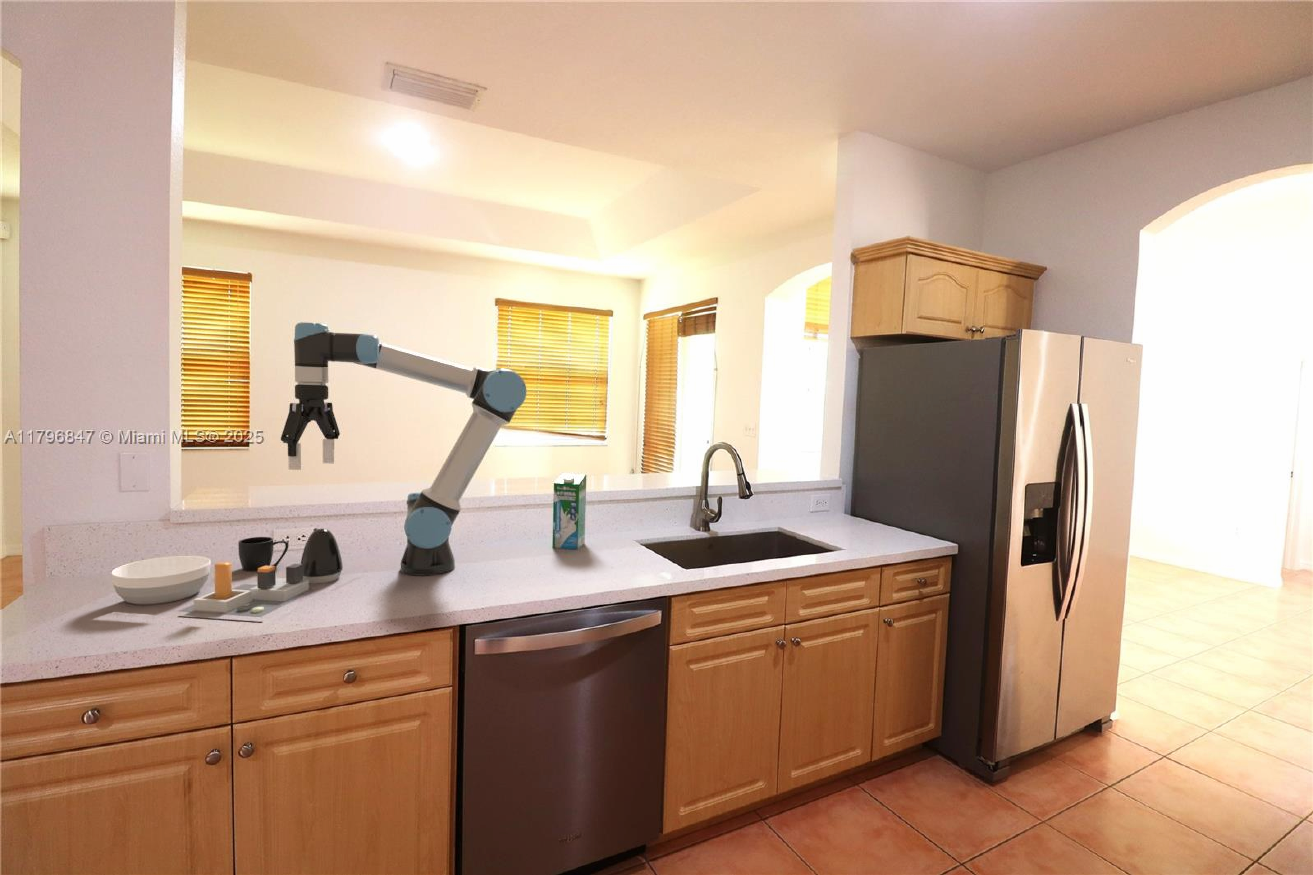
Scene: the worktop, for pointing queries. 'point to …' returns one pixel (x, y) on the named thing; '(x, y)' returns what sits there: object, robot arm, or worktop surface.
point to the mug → (258, 552)
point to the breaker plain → (294, 573)
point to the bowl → (161, 579)
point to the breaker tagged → (266, 577)
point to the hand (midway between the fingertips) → (312, 466)
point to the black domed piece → (321, 557)
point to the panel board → (250, 600)
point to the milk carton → (569, 511)
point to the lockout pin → (223, 581)
